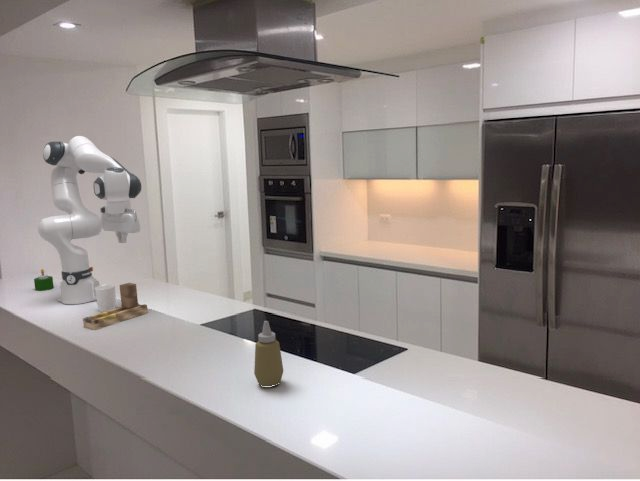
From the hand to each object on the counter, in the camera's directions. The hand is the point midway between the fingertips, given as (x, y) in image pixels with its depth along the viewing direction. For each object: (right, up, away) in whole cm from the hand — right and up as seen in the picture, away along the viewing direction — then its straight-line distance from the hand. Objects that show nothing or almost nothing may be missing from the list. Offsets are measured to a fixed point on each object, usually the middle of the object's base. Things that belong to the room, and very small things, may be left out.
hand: (122, 242), depth 220 cm
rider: (+3, -27, 0) cm, 27 cm away
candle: (-57, -23, +51) cm, 80 cm away
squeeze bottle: (+66, -39, -69) cm, 103 cm away
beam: (-1, -30, -5) cm, 31 cm away
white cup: (-10, -29, +10) cm, 32 cm away
